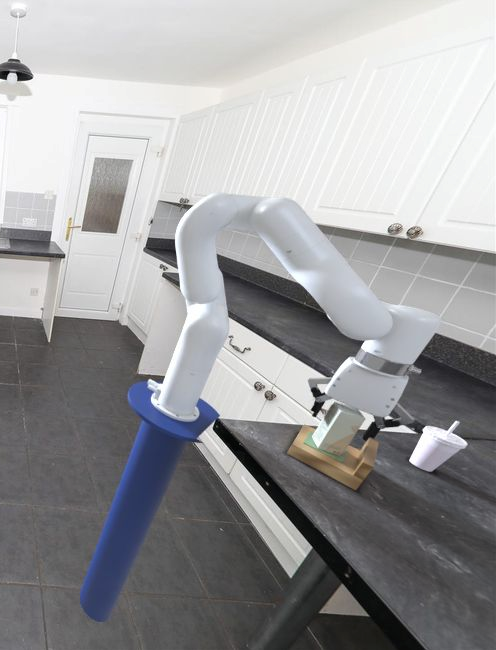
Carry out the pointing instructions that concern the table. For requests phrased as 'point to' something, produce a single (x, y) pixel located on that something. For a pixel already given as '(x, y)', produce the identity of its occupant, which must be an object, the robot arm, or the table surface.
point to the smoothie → (436, 447)
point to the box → (338, 428)
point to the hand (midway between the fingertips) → (338, 425)
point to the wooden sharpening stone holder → (335, 458)
